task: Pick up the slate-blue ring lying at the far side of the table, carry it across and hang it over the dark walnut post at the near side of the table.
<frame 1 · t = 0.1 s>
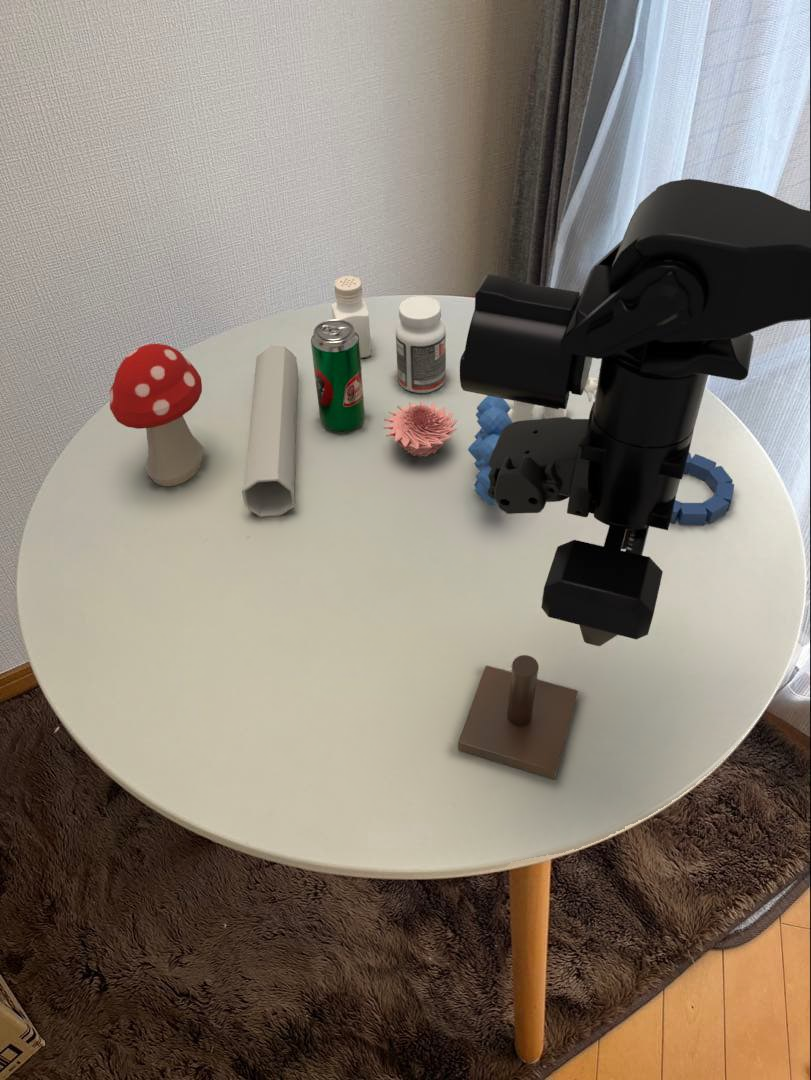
hand: (606, 592, 62), 16 cm above the table, tool pointing down, fingers open, 9 cm apart
pill bottle: (421, 381, 107), on the table
tube: (276, 439, 100), on the table
decorative mushroom: (177, 469, 97), on the table
grapes: (498, 495, 93), on the table
post: (518, 723, 74), on the table
toy creature: (536, 426, 101), on the table
flower: (420, 451, 98), on the table
pepper shaker: (353, 352, 111), on the table
soda can: (343, 422, 102), on the table
ring: (683, 493, 92), on the table
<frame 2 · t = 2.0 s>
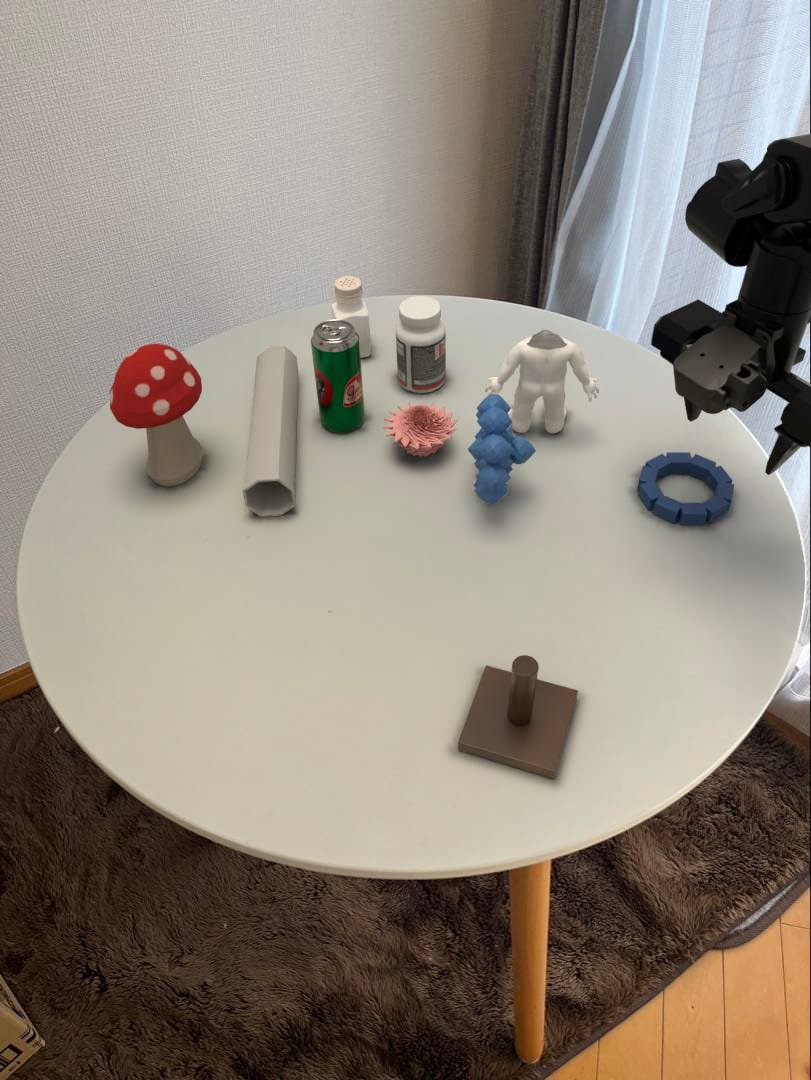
hand: (730, 445, 83), 10 cm above the table, tool pointing down, fingers open, 9 cm apart
nothing on the table moved.
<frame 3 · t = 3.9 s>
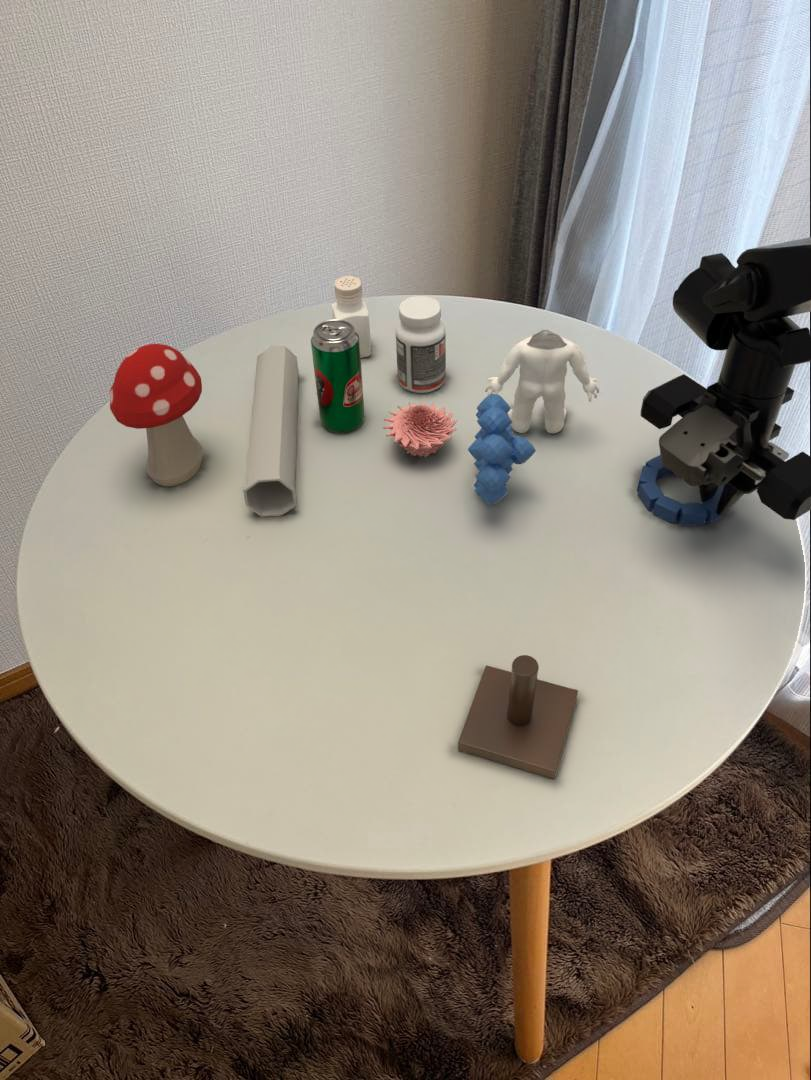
hand: (713, 507, 89), 1 cm above the table, tool pointing down, fingers closed on ring, 2 cm apart
ring: (683, 493, 92), on the table, touching gripper
everything else where it was.
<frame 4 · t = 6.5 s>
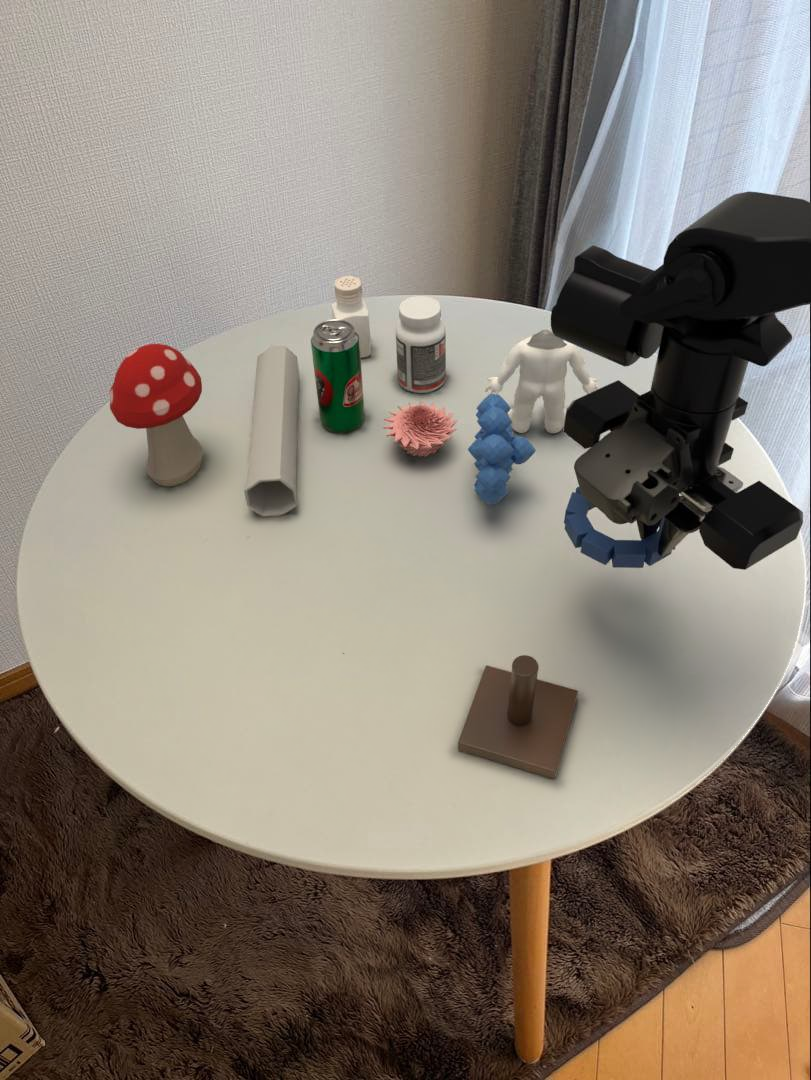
hand: (655, 545, 72), 11 cm above the table, tool pointing down, fingers closed on ring
ring: (621, 527, 75), point 10 cm above the table, touching gripper
everything else where it was.
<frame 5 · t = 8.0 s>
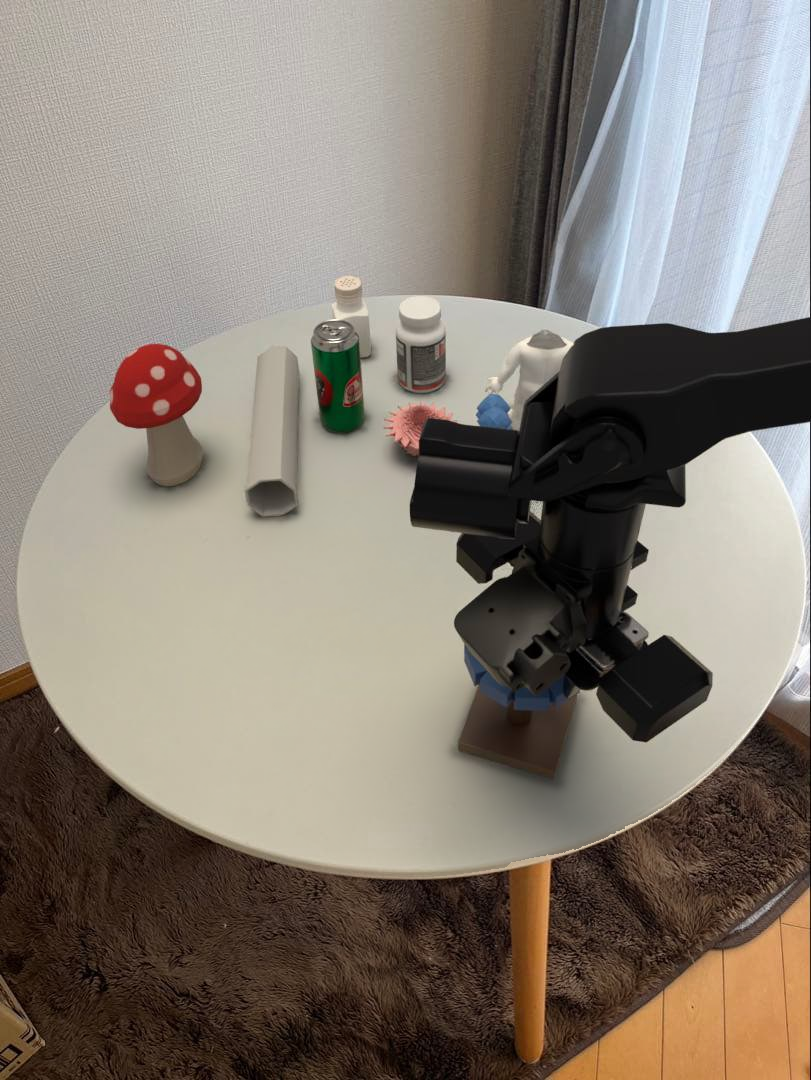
hand: (561, 684, 65), 10 cm above the table, tool pointing down, fingers closed on ring
ring: (527, 658, 68), point 9 cm above the table, touching gripper
everything else where it was.
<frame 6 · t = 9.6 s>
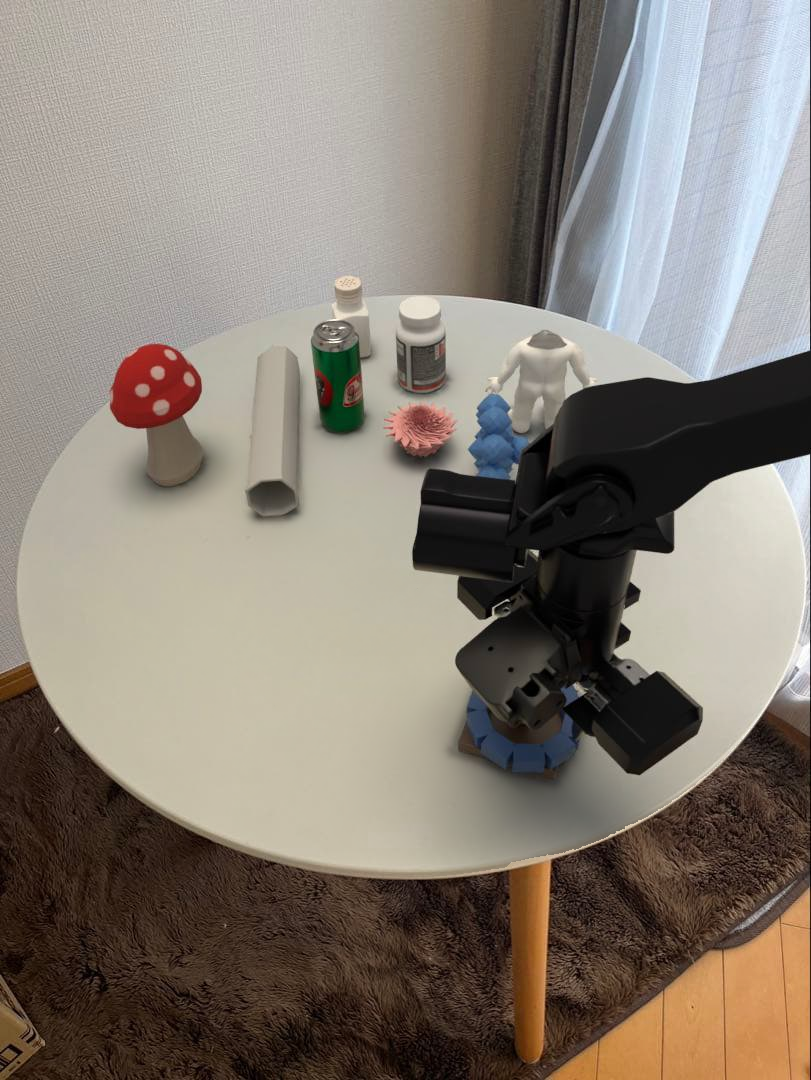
hand: (559, 715, 67), 7 cm above the table, tool pointing down, fingers open, 4 cm apart
ring: (524, 721, 73), point 1 cm above the table, touching post
everything else where it was.
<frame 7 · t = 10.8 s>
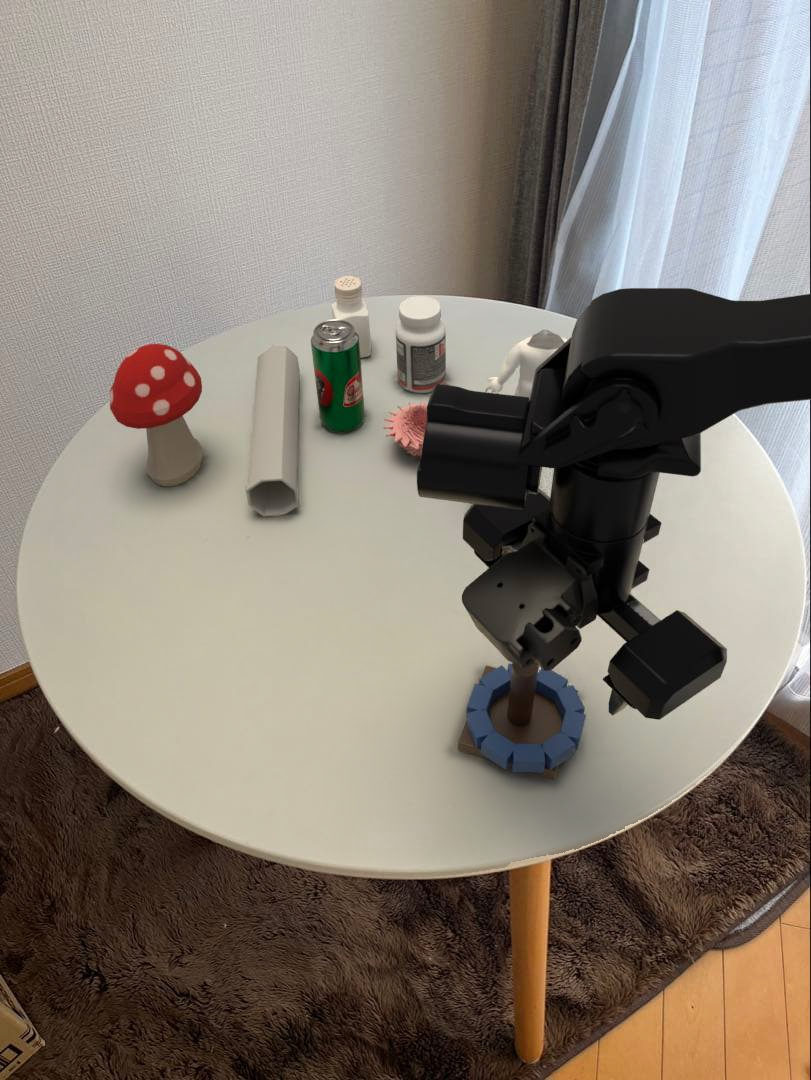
hand: (570, 665, 63), 12 cm above the table, tool pointing down, fingers open, 9 cm apart
nothing on the table moved.
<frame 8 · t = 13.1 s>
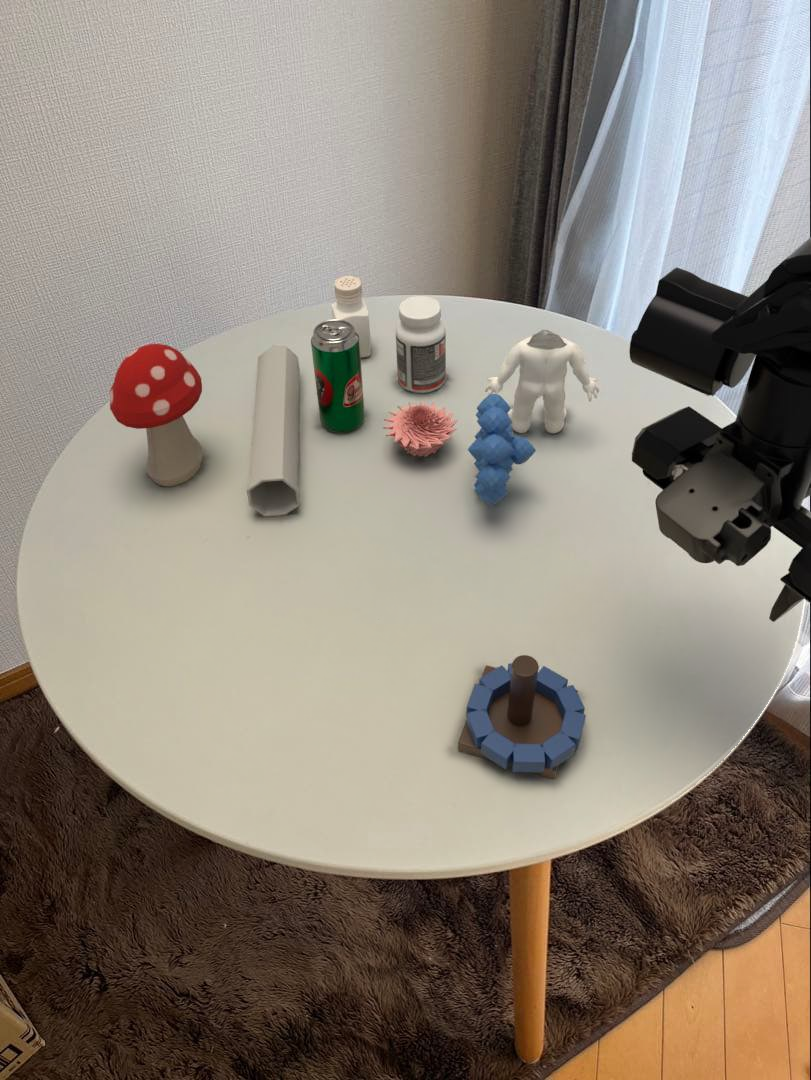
hand: (727, 579, 69), 12 cm above the table, tool pointing down, fingers open, 9 cm apart
nothing on the table moved.
at the end: ring 0.7 cm from the post (horizontally); ring point 1.2 cm above the table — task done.
